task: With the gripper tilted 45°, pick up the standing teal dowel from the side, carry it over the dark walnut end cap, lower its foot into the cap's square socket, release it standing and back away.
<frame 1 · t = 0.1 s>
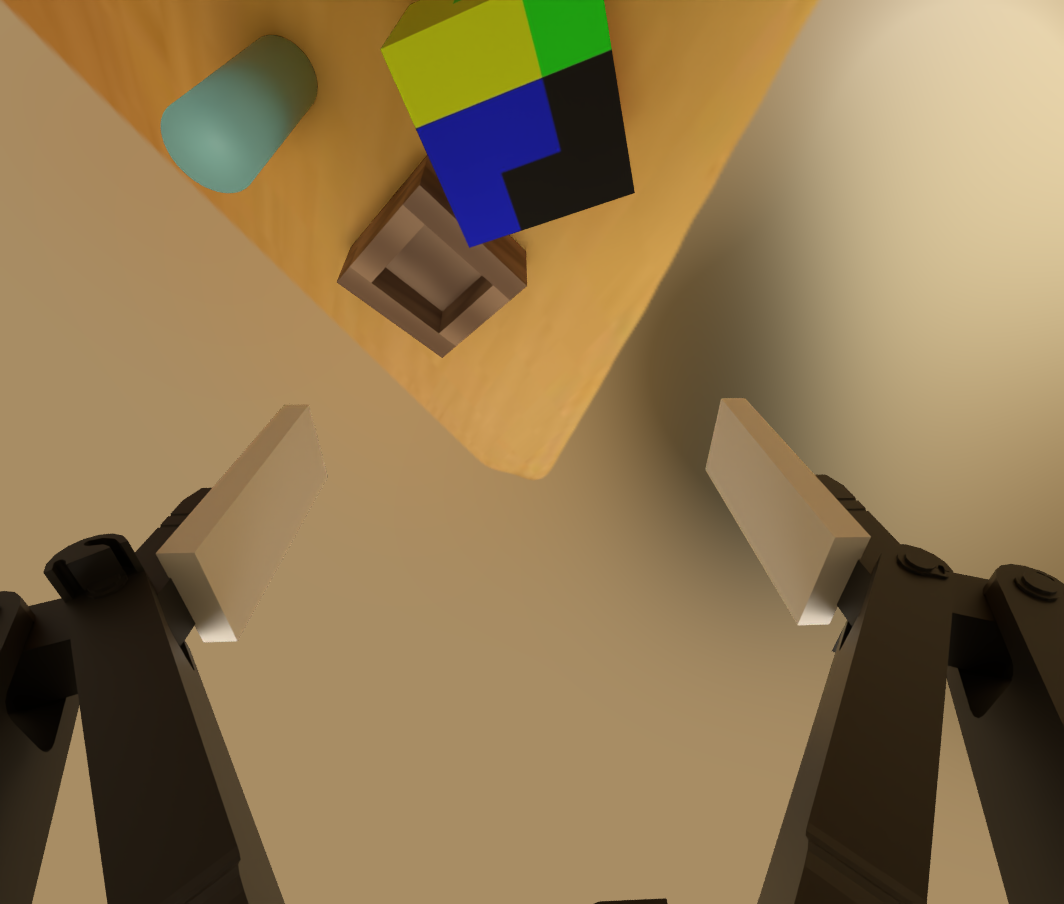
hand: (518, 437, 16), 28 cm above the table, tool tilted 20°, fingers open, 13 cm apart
teal dowel: (283, 75, 31), on the table
puzzle toy: (519, 70, 32), on the table
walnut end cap: (438, 249, 40), on the table
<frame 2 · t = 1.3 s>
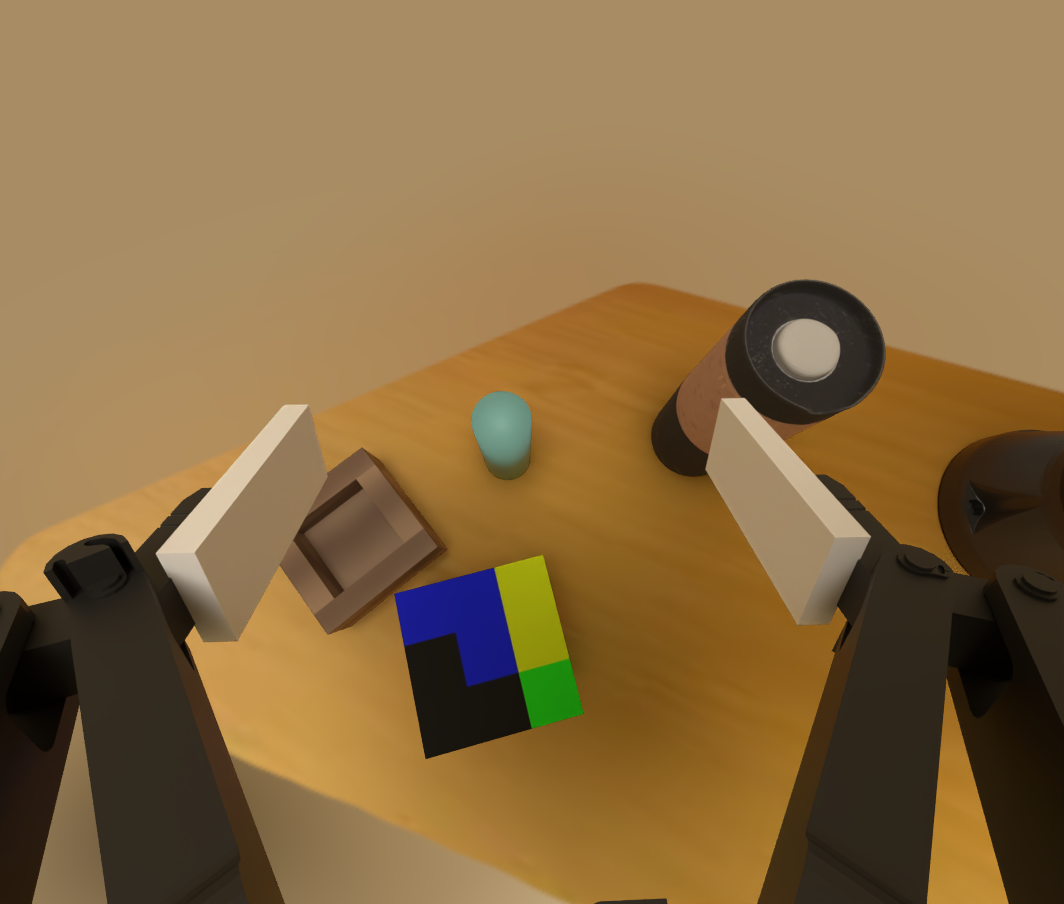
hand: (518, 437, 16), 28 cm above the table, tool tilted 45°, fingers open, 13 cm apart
teal dowel: (507, 457, 45), on the table
puzzle toy: (495, 631, 42), on the table
travel mug: (689, 438, 45), on the table
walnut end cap: (365, 540, 43), on the table
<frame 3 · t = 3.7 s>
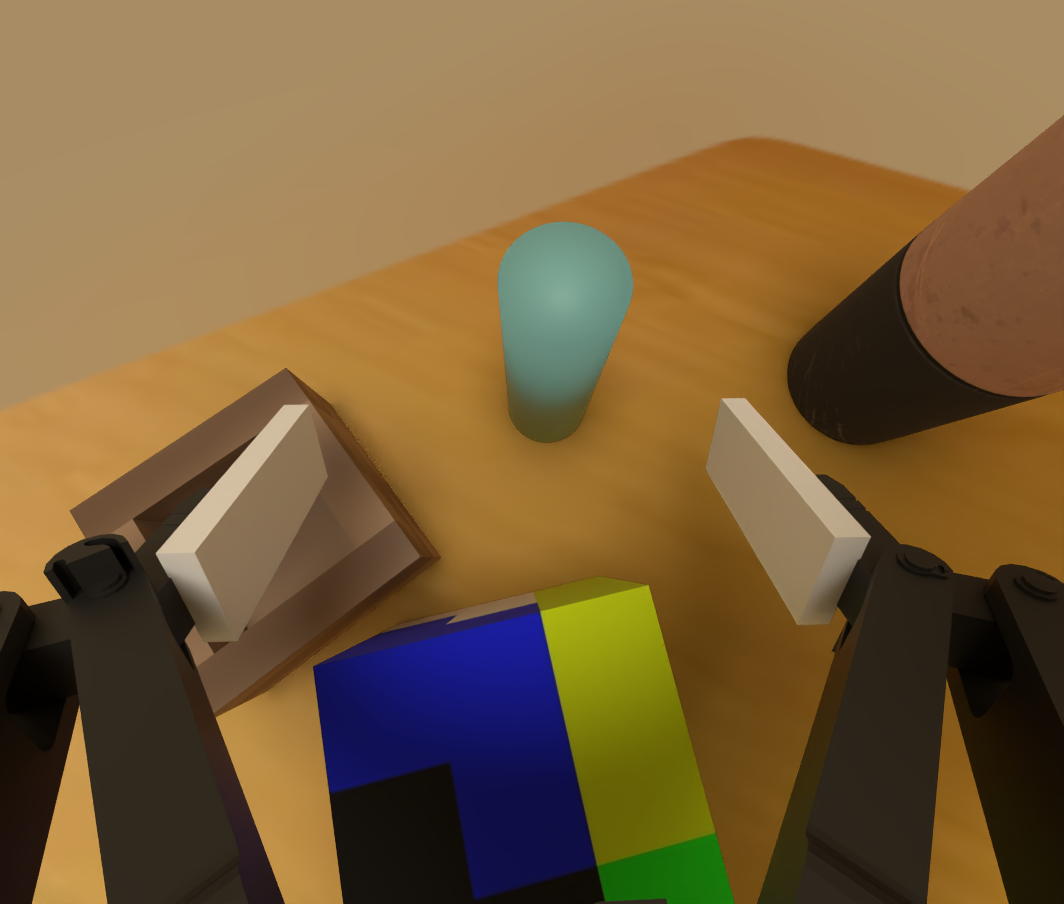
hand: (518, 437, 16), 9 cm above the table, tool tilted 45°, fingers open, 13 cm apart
teal dowel: (546, 405, 26), on the table
puzzle toy: (522, 706, 23), on the table
travel mug: (849, 383, 27), on the table
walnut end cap: (299, 539, 25), on the table
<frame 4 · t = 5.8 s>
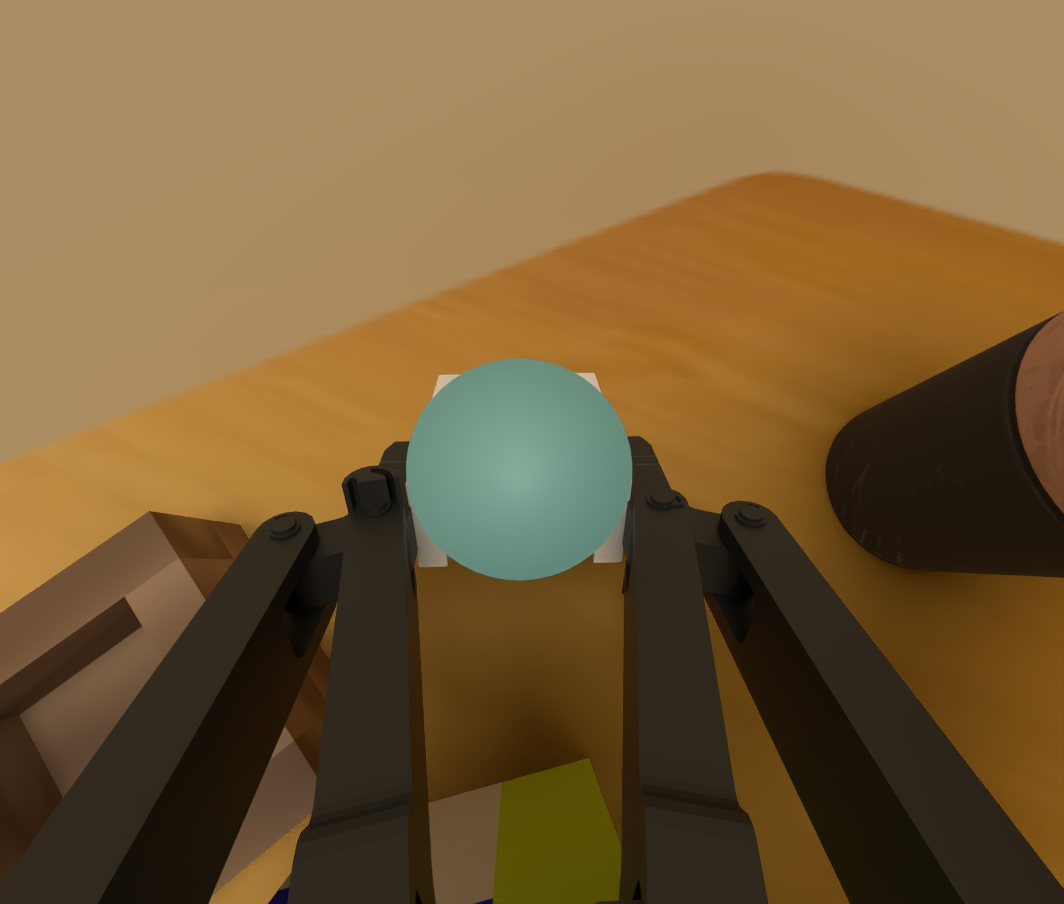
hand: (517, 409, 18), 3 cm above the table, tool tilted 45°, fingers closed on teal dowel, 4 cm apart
teal dowel: (519, 522, 20), on the table, touching gripper
travel mug: (903, 485, 21), on the table
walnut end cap: (191, 713, 19), on the table
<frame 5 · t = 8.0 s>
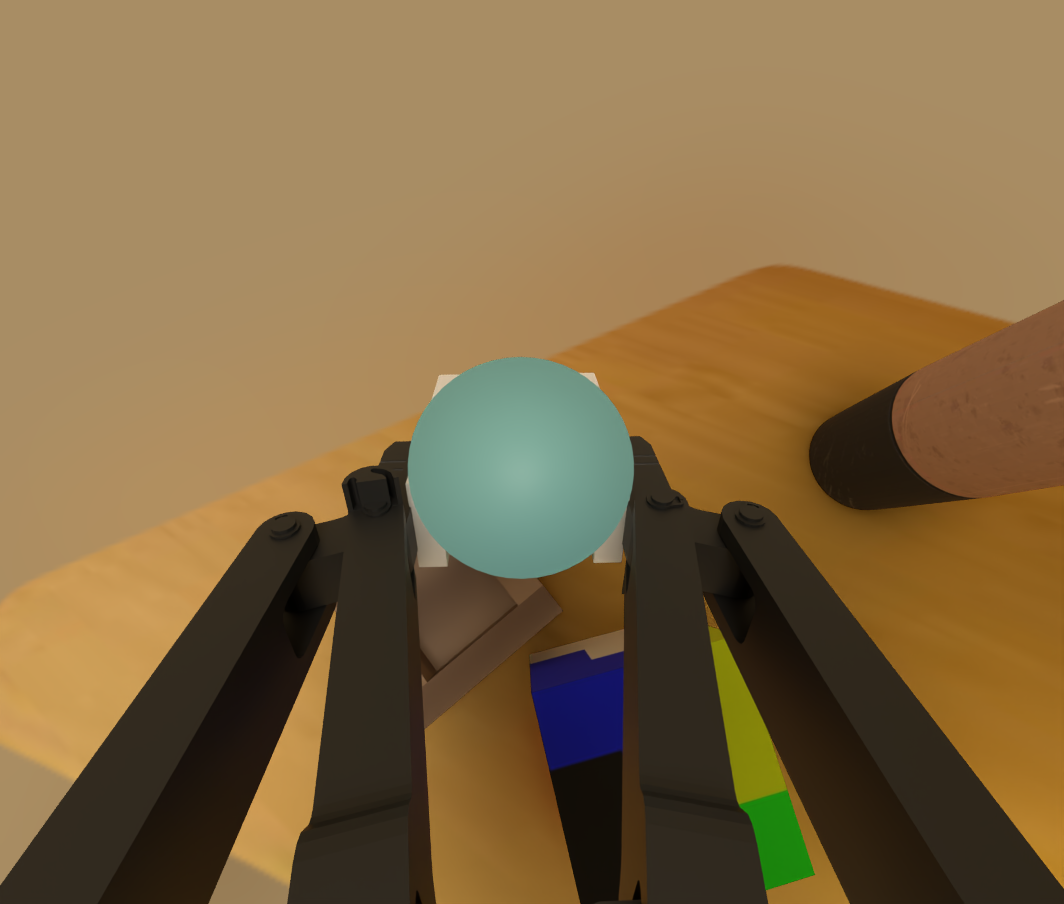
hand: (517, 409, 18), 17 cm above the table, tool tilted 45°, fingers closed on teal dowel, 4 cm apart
teal dowel: (520, 522, 20), point 14 cm above the table, touching gripper
puzzle toy: (623, 713, 32), on the table
travel mug: (856, 461, 36), on the table
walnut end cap: (451, 592, 33), on the table
when the fingers open (7 cm above the table, at t = 10.1 s): teal dowel drops 2 cm, resting on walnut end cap.
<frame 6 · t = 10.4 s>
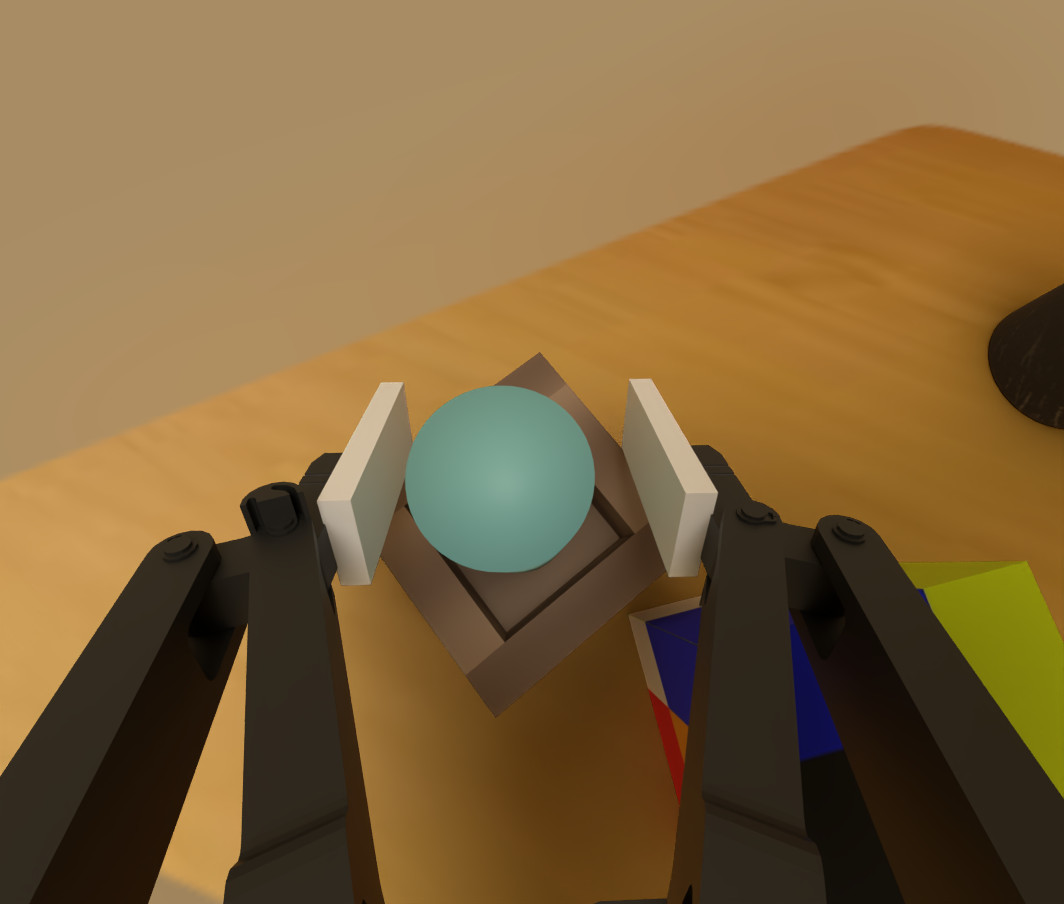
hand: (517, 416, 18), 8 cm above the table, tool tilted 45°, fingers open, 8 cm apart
teal dowel: (520, 526, 22), point 2 cm above the table, touching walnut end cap
puzzle toy: (759, 696, 23), on the table
travel mug: (1048, 368, 27), on the table
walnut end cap: (519, 529, 24), on the table
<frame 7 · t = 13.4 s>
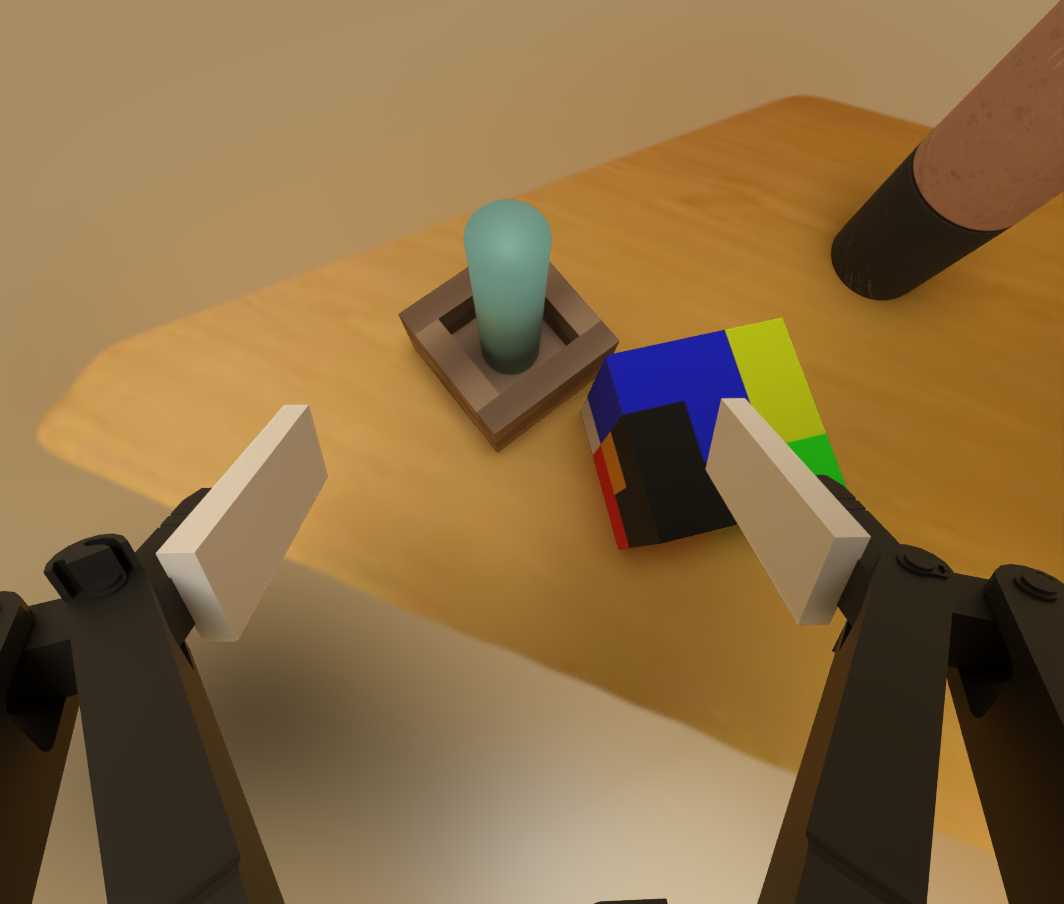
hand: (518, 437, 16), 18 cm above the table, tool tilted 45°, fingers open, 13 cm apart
teal dowel: (510, 347, 34), point 2 cm above the table, touching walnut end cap
puzzle toy: (665, 463, 35), on the table
travel mug: (873, 261, 39), on the table
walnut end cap: (509, 359, 36), on the table
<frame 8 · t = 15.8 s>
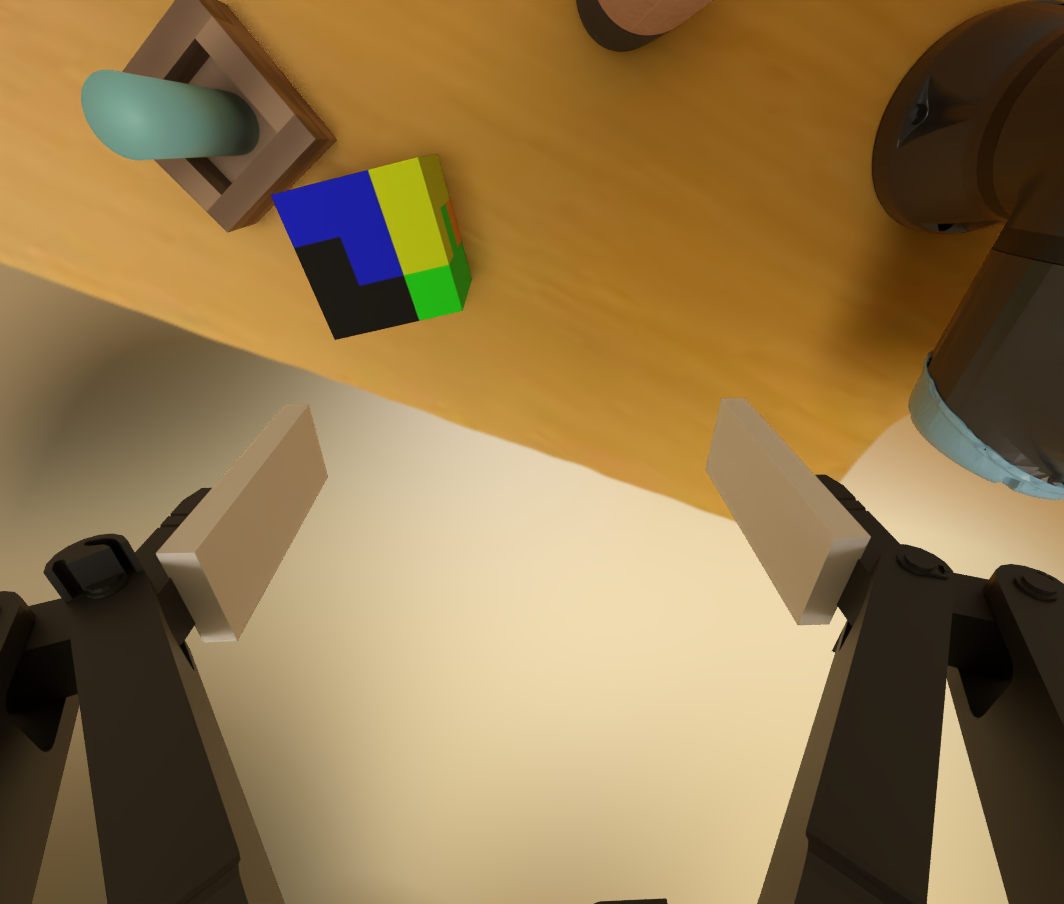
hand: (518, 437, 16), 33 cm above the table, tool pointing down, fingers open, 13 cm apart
teal dowel: (231, 123, 37), point 2 cm above the table, touching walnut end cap
puzzle toy: (400, 233, 43), on the table
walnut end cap: (242, 124, 38), on the table
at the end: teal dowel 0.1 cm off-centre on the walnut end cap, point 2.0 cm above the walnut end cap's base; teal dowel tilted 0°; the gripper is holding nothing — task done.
